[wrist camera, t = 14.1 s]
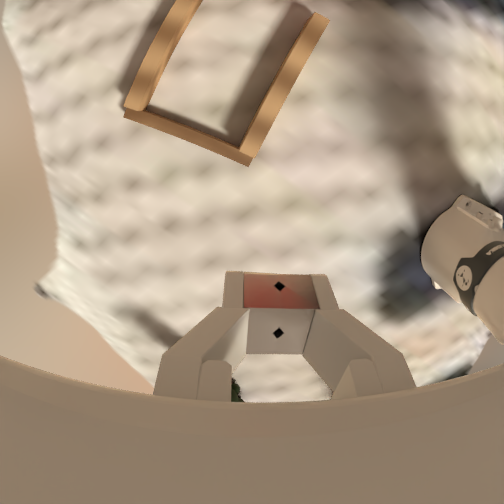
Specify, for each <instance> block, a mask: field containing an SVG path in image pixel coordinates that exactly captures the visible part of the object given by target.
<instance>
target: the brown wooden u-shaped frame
mask: <svg viewBox="0 0 504 504" xmlns="http://www.w3.org/2000/svg"><path fill="white" fill-rule="evenodd" d="M202 1H203V0H176V1H175V3H174V5H173V6H172V8H171V10H170V11H169V13H168V15H167V16H166V18H165V20H164V21H163V23H162V25H161V27H160V29H159V30H158V32H157V34H156V36H155V38H154V40H153V42H152V44H151V46H150V48H149V49H148V51H147V54H146V56H145V58H144V60H143V62H142V64H141V66H140V68H139V70H138V73H137V75H136V77H135V79H134V81H133V84H132V86H131V88H130V91H129V93H128V96H127V98H126V101H125V103H124V107H127V109H126V111H125V114H124V116H123V117H124V118H127V119H130V120H133V121H135V122H138V123H141V124H144V125H147V126H149V127H152V128H155V129H157V130H160V131H163V132H165V133H168V134H171V135H173V136H176V137H178V138H181V139H183V140H186V141H188V142H191V143H193V144H196V145H198V146H201V147H203V148H206V149H208V150H210V151H213V152H215V153H218V154H220V155H222V156H225V157H227V158H229V159H231V160H234V161H236V162H238V163H240V164H243V165H245V166H247V167H249V165H250V163H251V161H252V159H253V158H255V157H256V155H257V153H258V151H259V149H260V147H261V145H262V143H263V141H264V139H265V137H266V135H267V134H268V132H269V130H270V128H271V126H272V124H273V122H274V120H275V118H276V116H277V115H278V113H279V111H280V109H281V107H282V105H283V103H284V101H285V100H286V98H287V96H288V94H289V92H290V90H291V88H292V87H293V85H294V83H295V81H296V79H297V78H298V76H299V74H300V72H301V70H302V68H303V67H304V65H305V63H306V61H307V60H308V58H309V56H310V54H311V53H312V51H313V49H314V47H315V45H316V44H317V42H318V40H319V39H320V37H321V35H322V33H323V32H324V30H325V28H326V27H327V25H328V23H329V21H330V20H329V19H327V18H325V17H323V16H322V15H320V14H318V13H316V12H315V13H314V14H313V15H312V16H311V17H310V18H309V19H308V20H307V22H306V24H305V25H304V27H303V29H302V30H301V32H300V34H299V35H298V37H297V39H296V41H295V42H294V44H293V46H292V48H291V49H290V51H289V53H288V55H287V56H286V58H285V60H284V62H283V63H282V65H281V67H280V69H279V71H278V72H277V74H276V76H275V78H274V80H273V82H272V83H271V85H270V87H269V89H268V91H267V93H266V95H265V96H264V98H263V100H262V102H261V104H260V106H259V108H258V110H257V112H256V114H255V116H254V117H253V119H252V121H251V123H250V125H249V127H248V129H247V131H246V133H245V135H244V137H243V139H242V141H241V143H240V145H239V147H237V146H235V145H232V144H230V143H228V142H225V141H223V140H221V139H218V138H216V137H214V136H211V135H209V134H206V133H204V132H202V131H199V130H197V129H194V128H192V127H189V126H187V125H184V124H182V123H179V122H176V121H174V120H171V119H168V118H166V117H163V116H160V115H158V114H155V113H152V112H149V111H146V109H147V107H148V104H149V102H150V100H151V97H152V95H153V93H154V91H155V88H156V86H157V84H158V82H159V80H160V77H161V75H162V73H163V71H164V69H165V67H166V65H167V63H168V61H169V59H170V57H171V55H172V53H173V51H174V49H175V47H176V45H177V44H178V42H179V40H180V38H181V36H182V34H183V33H184V31H185V29H186V27H187V26H188V24H189V22H190V20H191V19H192V17H193V15H194V14H195V12H196V10H197V9H198V7H199V6H200V4H201V2H202Z"/></svg>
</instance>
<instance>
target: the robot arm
mask: <svg viewBox="0 0 504 504" xmlns="http://www.w3.org/2000/svg"><path fill="white" fill-rule="evenodd" d="M502 223H503V220H502V215H501V214H499V213H498V212H496V211H494V210H492V209H491V208H489V207H487V206H485V205H483V204H481V203H479V202H477V201H475V200H473V199H471V198H469V197H467V196H465V195H461V196H459V197H458V198H457V200H456V201H455V203H454V204H453V205H452V207H451V208H449V209H448V210H447V211H445V212H444V213H442V214H441V215H440V216H439V217H438V218H437V219H436V220H435V221H434V223H433V224H432V225H431V227H430V229H429V230H428V232H427V234H426V236H425V239H424V242H423V245H422V250H421V262H422V266H423V268H424V270H425V272H426V273H427V274H428V275H429V276H430V277H431V280H432V284H433V286H434V287H435V288H436V289H440V288H442V289H443V290H444V291H445V292H446V293H448V294H449V295H450V296H451V297H452V298H453V299H454V300H455V301H456V302H458V303H463V304H464V305H465V307H466V308H467V309H468V310H469V311H470V312H471V313H472V314H473V315H475V316H478V317H479V318H480V319H481V321H482V322H483V323H484V324H485V325H486V327H487V328H488V329H489V330H490V332H491V333H492V334H493V336H494V337H495V338H496V339H497V341H498V342H499V343H500V344H502V345H504V229H503V228H502ZM274 353H275V354H303V357H304V358H305V359H306V360H307V361H308V363H309V364H310V365H311V366H312V367H313V369H314V370H315V371H316V372H317V373H318V374H319V376H320V377H321V378H322V379H323V380H324V381H325V383H326V384H327V385H328V386H329V387H330V388H331V390H332V391H333V392H334V393H333V395H332V397H331V399H330V400H322V401H306V402H277V403H253V402H231V377H232V374H233V372H234V371H235V369H236V368H237V367H238V365H239V364H240V363H241V361H242V360H243V359H244V357H245V356H246V354H274ZM0 504H504V363H503V364H500V365H497V366H494V367H492V368H489V369H486V370H482V371H479V372H476V373H473V374H469V375H466V376H462V377H458V378H455V379H451V380H447V381H443V382H439V383H435V384H430V385H426V386H421V387H416V385H415V382H414V380H413V377H412V375H411V373H410V370H409V368H408V365H407V363H406V361H405V358H404V356H403V354H402V353H401V352H399V351H398V350H397V349H395V348H394V347H393V346H392V345H390V344H389V343H388V342H386V341H385V340H384V339H382V338H381V337H380V336H378V335H377V334H376V333H374V332H373V331H372V330H370V329H369V328H368V327H366V326H365V325H364V324H363V323H361V322H360V321H359V320H357V319H356V318H355V317H353V316H352V315H351V314H349V313H348V312H347V311H345V310H344V309H339V307H338V304H337V301H336V299H335V296H334V293H333V291H332V288H331V285H330V283H329V280H328V277H327V276H326V275H325V274H309V275H297V274H274V273H257V272H244V273H243V272H240V271H226V273H225V283H224V294H223V304H222V307H216V308H215V309H214V310H213V311H212V312H211V313H210V314H209V315H207V316H206V317H205V318H204V319H203V320H202V321H201V322H199V323H198V324H197V325H196V326H195V327H194V328H193V329H191V330H190V331H189V332H188V333H187V334H186V335H185V336H183V337H182V338H181V339H180V340H179V341H178V342H176V343H175V344H174V345H173V346H172V347H171V348H170V349H168V350H167V351H166V352H165V353H164V354H163V355H162V358H161V362H160V367H159V371H158V375H157V379H156V383H155V388H154V392H153V395H151V394H144V393H138V392H131V391H126V390H120V389H115V388H110V387H105V386H101V385H96V384H92V383H87V382H83V381H79V380H75V379H71V378H67V377H63V376H60V375H56V374H53V373H50V372H46V371H43V370H40V369H37V368H34V367H31V366H27V365H25V364H22V363H19V362H16V361H13V360H10V359H8V358H5V357H3V356H0Z"/></svg>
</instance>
